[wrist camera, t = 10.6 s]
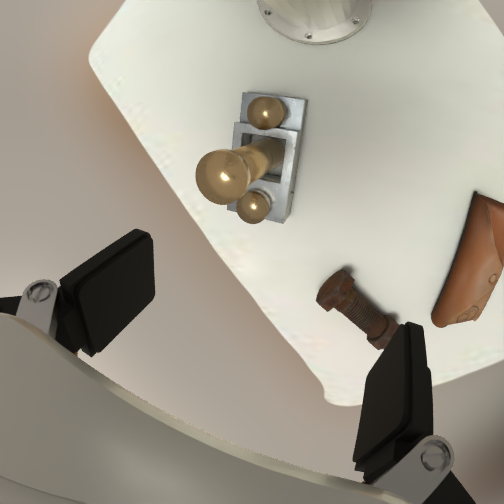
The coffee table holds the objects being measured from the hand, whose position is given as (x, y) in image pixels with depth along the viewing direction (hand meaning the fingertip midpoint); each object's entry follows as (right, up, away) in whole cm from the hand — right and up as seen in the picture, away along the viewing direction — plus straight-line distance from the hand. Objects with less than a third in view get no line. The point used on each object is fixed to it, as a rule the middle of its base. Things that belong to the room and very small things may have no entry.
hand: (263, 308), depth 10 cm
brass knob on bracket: (+2, +13, +24) cm, 27 cm away
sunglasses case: (+28, +1, +20) cm, 35 cm away
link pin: (+2, +13, +24) cm, 27 cm away
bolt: (+16, -6, +29) cm, 33 cm away
